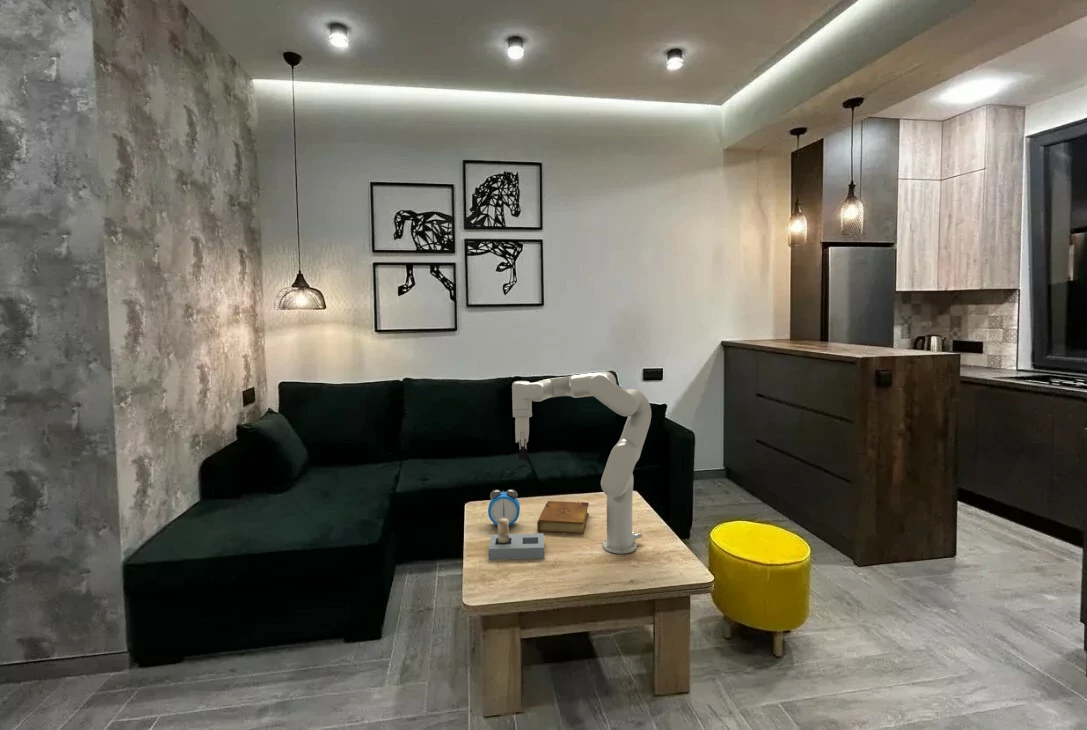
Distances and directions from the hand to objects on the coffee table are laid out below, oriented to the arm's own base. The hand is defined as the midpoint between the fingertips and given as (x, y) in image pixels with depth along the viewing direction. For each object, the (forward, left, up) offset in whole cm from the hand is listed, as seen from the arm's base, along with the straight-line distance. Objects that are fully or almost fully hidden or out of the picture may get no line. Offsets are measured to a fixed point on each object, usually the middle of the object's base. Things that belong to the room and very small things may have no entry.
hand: (523, 458), depth 215 cm
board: (+10, +12, -31) cm, 35 cm away
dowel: (+14, +10, -31) cm, 36 cm away
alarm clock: (+2, -14, -31) cm, 34 cm away
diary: (-20, -2, -32) cm, 38 cm away
